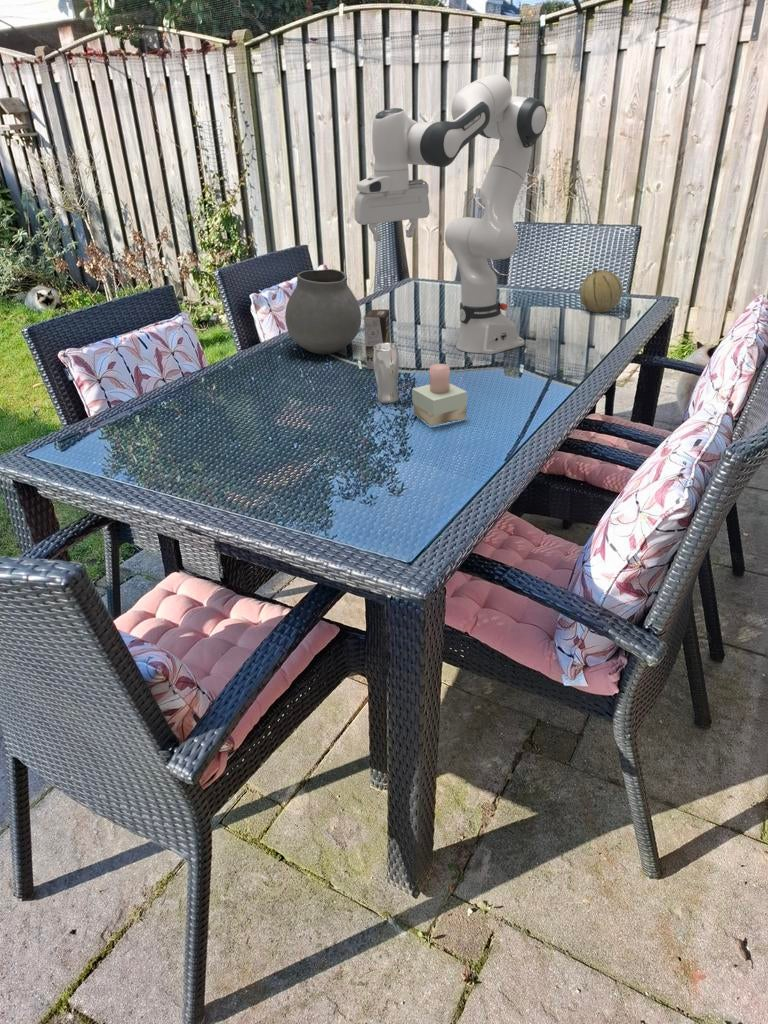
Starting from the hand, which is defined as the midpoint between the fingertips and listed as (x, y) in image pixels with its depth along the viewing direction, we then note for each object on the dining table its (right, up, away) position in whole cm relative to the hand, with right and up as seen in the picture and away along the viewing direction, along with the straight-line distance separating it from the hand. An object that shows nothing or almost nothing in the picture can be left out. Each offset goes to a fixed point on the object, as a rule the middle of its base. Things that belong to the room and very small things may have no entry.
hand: (393, 239), depth 186 cm
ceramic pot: (-22, -19, +47) cm, 55 cm away
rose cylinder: (+12, -42, -9) cm, 44 cm away
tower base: (+12, -49, -5) cm, 50 cm away
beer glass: (-2, -42, +7) cm, 42 cm away
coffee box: (-4, -27, +32) cm, 42 cm away
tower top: (+12, -45, -7) cm, 47 cm away
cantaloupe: (+77, +1, +72) cm, 105 cm away
